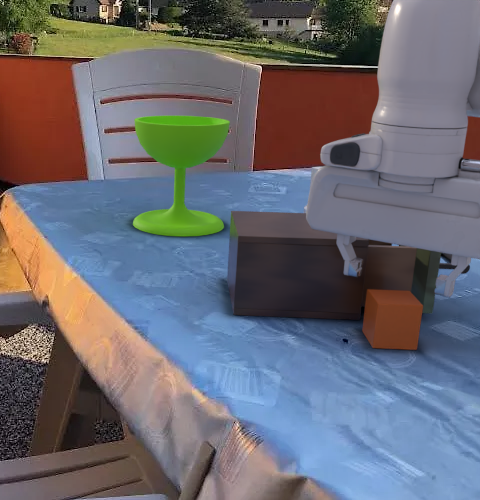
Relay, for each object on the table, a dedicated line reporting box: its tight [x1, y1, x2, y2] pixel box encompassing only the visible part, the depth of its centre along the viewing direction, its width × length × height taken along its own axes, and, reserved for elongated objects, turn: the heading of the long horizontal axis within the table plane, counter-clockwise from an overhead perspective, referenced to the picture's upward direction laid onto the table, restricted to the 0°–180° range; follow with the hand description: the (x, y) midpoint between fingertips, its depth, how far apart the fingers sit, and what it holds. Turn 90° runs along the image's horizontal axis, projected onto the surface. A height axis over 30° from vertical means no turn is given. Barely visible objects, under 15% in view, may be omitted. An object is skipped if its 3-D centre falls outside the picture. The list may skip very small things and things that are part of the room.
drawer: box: [361, 239, 471, 315], centre depth 86 cm, size 18×11×8 cm, turn 86°
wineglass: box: [132, 115, 231, 237], centre depth 121 cm, size 16×16×18 cm
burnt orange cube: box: [361, 289, 423, 351], centre depth 76 cm, size 5×5×5 cm
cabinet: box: [226, 210, 369, 321], centre depth 87 cm, size 15×13×10 cm
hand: (396, 284), depth 74 cm, fingers open, 8 cm apart
